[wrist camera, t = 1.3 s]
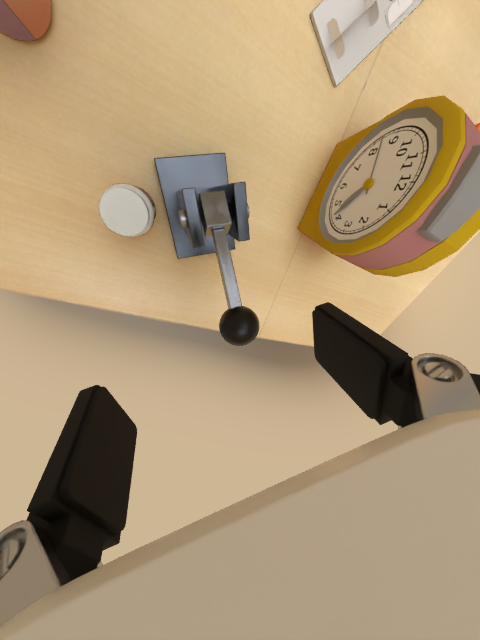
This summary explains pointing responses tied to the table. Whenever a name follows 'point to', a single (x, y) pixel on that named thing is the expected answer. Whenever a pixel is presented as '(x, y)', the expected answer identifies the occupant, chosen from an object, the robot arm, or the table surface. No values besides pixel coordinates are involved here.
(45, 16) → the beverage can
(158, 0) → the table surface
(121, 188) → the pill bottle
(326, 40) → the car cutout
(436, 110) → the alarm clock
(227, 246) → the switch lever
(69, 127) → the table surface
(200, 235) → the switch bracket
